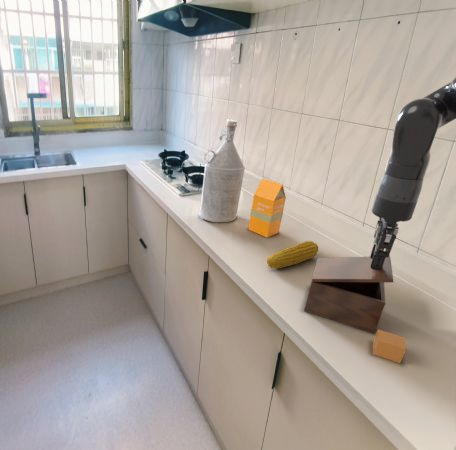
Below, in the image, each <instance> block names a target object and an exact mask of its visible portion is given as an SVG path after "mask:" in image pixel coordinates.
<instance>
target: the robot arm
mask: <svg viewBox="0 0 456 450" xmlns="http://www.w3.org/2000/svg"><path fill="white" fill-rule="evenodd" d="M454 120H456V77H454V78H453V79H452V80H451V81H450V82H448V83H446V84H445V85H443V86H441V87H440V88H437V89H436V90H434V91H433V92H431V93H430V94H427V95H426V96H424V97H422V98H417V99H414V100H411V101H410V102H408V103H406V105H404V106H403V107H402V108H401V109H400V111H399V113H398V115H397V117H396V121H395V124H394V130H393V134H392V141H391V150H390V153H389V155H388V158H387V161H386V165H385V169H384V172H383V175H382V177H381V179H380V181H379V184H378V188H377V190H376V194H375V197H374V201H373V204H372V207H371V213H372V214H373V215H374V216H375V217H378V218H379V219H378V220H377V221H376V224H375V230H374V233H373V246H372V248H371V253H370V255H369V257H370V258H371V259H372V262H371V269H374V270H378V271H380V270H382V267H383V264H384V261H385V258H386V257H387V258H388V256H391V251H392V248H393V246H394V243H395V241H396V239H397V235H398V234H399V230H400V228H399V227H398V226H399V223H400V222H409V221H411V219H412V218H413V215H414V213H415V210H416V206H417V204H418V200H419V198H420V195H421V192H422V189H423V183H424V179H425V176H426V173H427V170H428V167H429V165H430V160H431V148H432V146H433V143H434V140H435V138H436V134H437V132H438V130H439V129H441V128H442V127H444V126H446V125H448V124H449V123H451V122H453V121H454ZM380 248H382V249H383V251H382V250H380Z"/></svg>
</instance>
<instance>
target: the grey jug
mask: <svg viewBox="0 0 456 450" xmlns="http://www.w3.org/2000/svg"><path fill="white" fill-rule="evenodd" d="M237 123H238V120H235V119H232V118H227V119H226V125H225V127H224V128H226V131H225V129H224V128H223V129H221V134H220V135H219V137H218V139H219V141H222V140H223V138H224V136H225V140H224V141H223V142H222V143H221V145H220V146H219V148H217V150H216V151H215V152H214V150H211V149H208V150H207V151H205V152H204V154H203V156H204V157H203V160H205V162H206V163H205V164H204V171H203V179H202V189H201V199H200V209H199V214H198V215H199V217H200V218H201V219H202V220H205V221H208V222H213V223H228V222H232V221H235V220H236V219H237V215H238V210H239V209H238V208H239V204H240V197H241V191H242V186H243V181H244V176H245V175H244V174H245V170H246V167H245V165H244V162H243V161H242V159H241V156H240V154H239V152H238V150H237V148H236V146H235V144H234V138H235V133H236V129H237V127H238V124H237ZM223 133H225V134H223ZM209 153H212V156H211V157H210V159H209V160H206V159H207V155H208V154H209Z"/></svg>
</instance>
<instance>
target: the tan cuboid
mask: <svg viewBox="0 0 456 450" xmlns="http://www.w3.org/2000/svg"><path fill="white" fill-rule="evenodd" d="M406 352H407V345H406V338H405V337H403V336H400V335H397V334H394V333H391V332H388V331H385V330H381V329H377V331H376V334H375V336H374V339H373V341H372V355H374V356H376V357H377V356H378V357H381V358H383V359H385V360H388V361H391V362H395V363H397V364H401V362H402V360H403V357H404V356H405V353H406Z"/></svg>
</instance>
